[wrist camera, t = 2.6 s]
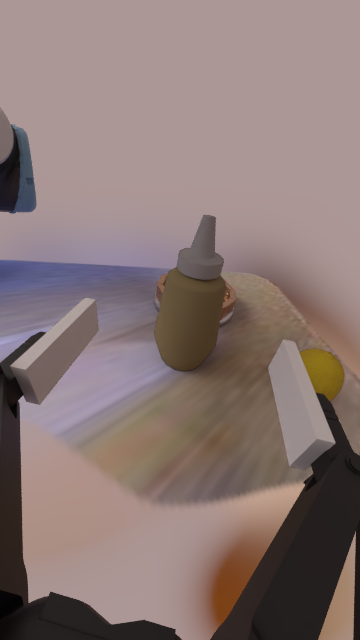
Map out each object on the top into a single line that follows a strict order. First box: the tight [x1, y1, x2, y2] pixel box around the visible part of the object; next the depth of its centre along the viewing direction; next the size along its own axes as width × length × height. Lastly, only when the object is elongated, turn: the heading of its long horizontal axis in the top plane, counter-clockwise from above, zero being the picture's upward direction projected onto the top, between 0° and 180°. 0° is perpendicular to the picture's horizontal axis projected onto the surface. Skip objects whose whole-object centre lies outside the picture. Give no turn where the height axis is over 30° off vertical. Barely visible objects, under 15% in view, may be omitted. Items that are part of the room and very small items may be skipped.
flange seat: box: [154, 273, 236, 327], centre depth 41 cm, size 15×15×4 cm
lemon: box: [300, 349, 344, 401], centre depth 25 cm, size 6×6×8 cm
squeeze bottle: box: [154, 215, 226, 371], centre depth 25 cm, size 8×8×18 cm
